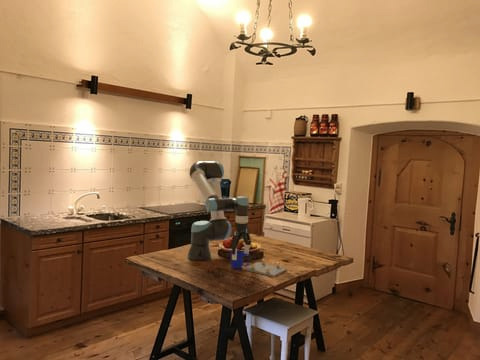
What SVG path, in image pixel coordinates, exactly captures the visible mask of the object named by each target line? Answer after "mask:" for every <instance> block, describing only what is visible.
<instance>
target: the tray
mask: <svg viewBox="0 0 480 360" xmlns="http://www.w3.org/2000/svg"><path fill="white" fill-rule="evenodd" d="M280 265H281V264H280V262H278V261H277V262H276V264H275V265H272V264H268V263H266V259H265V258H262V259H261V262H259V261H256V262H255V263H251V264H250V265H247V266H245V267H244V269H243V270H244V271H247V272H251V273H256V274H259V275H264V276H268V277H272V278H275V277H277V276H279V275H281V274H282V273H283V274H284V273H285V272H286V271H287V268H285V267H281V266H280ZM284 271H285V272H284Z"/></svg>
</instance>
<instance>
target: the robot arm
mask: <svg viewBox="0 0 480 360" xmlns="http://www.w3.org/2000/svg"><path fill="white" fill-rule="evenodd" d="M188 172H189V178H190V179H191V180H192V181H193V182H194V183H195V184H196V186H197V188H198V190H199V191H200V193H201V195H202V196H203V198H204V199H205V204H204V206H205V209H206V211H207V212H210V219H209V221H208V220H200V221H199V220H198V221H194V222H193V223H192V225H191V230H190V232H191V233H190V235H191V236H190V246H189V249H188V253H187V258H188V259H189V260H191V261H202V262H203V261H209V260H211V258H212V252H211V249H210V242H214V241H224V240H228V239H230V237H231V235H232V230H233V229H232V224H231V223H230V221H228V219H227V218H226V217H225V211H228V212H229V211H235V220H234V221H235V225H234V226H235V227H234V228H235V230H236V231H233V235H232V239H231V243H230V245H229V249H230V250H231V251H232V260H237V250H238V245H239V243H240V240H243V243H244V246H243V247H244V248H243V250H244V251H243V252H244V253H245V254H250V253H249V252H250V251H249V250H250V245H252V241H251V240H252V239H251V236H250V229H249V223H248V222H249V207H250V206H249V205H250V201H249V196H242V195H241V196H237V197H228V198H227V197H225V198H223V197H222V189H221V181H222V178H224V176H225V175H224V174H225V169H224V165H223V164H222V163H221V162H219V161H206V160H204V161H202V160H201V161H196V162H194V163H193V164H192V165H191V166H190V167H189V171H188ZM246 256H247V257H249V256H248V255H246Z"/></svg>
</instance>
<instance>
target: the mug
mask: <svg viewBox="0 0 480 360" xmlns="http://www.w3.org/2000/svg"><path fill="white" fill-rule="evenodd" d="M229 254H230V255H229V256H230V257H229V258H230V268H231V269H234V270H240V269H242V268H243V267H248V266H249V264H250V259H251V254H250V253H249V254H245V253H244V251H243V250H240V249H239V250H238V249H237V260H232V250H230V253H229ZM247 255H248V256H247ZM245 256H247V257H248V259H247V263H246V264H244V257H245Z"/></svg>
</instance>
